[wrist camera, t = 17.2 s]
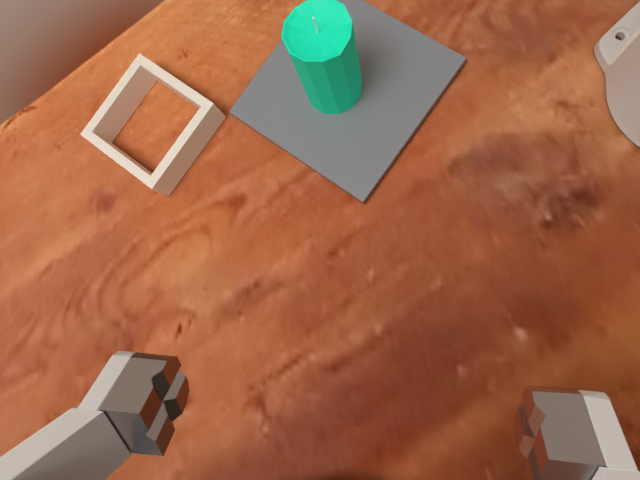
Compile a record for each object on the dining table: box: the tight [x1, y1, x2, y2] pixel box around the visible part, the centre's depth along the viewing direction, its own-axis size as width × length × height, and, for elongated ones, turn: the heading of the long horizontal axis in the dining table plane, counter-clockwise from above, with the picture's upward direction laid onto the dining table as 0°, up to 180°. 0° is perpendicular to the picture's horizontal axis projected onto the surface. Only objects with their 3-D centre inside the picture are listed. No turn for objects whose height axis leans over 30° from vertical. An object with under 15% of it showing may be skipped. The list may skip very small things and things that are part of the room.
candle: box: [282, 0, 362, 114], centre depth 41 cm, size 6×6×12 cm
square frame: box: [80, 53, 226, 197], centre depth 50 cm, size 11×11×4 cm
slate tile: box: [229, 0, 466, 204], centre depth 48 cm, size 18×18×1 cm
